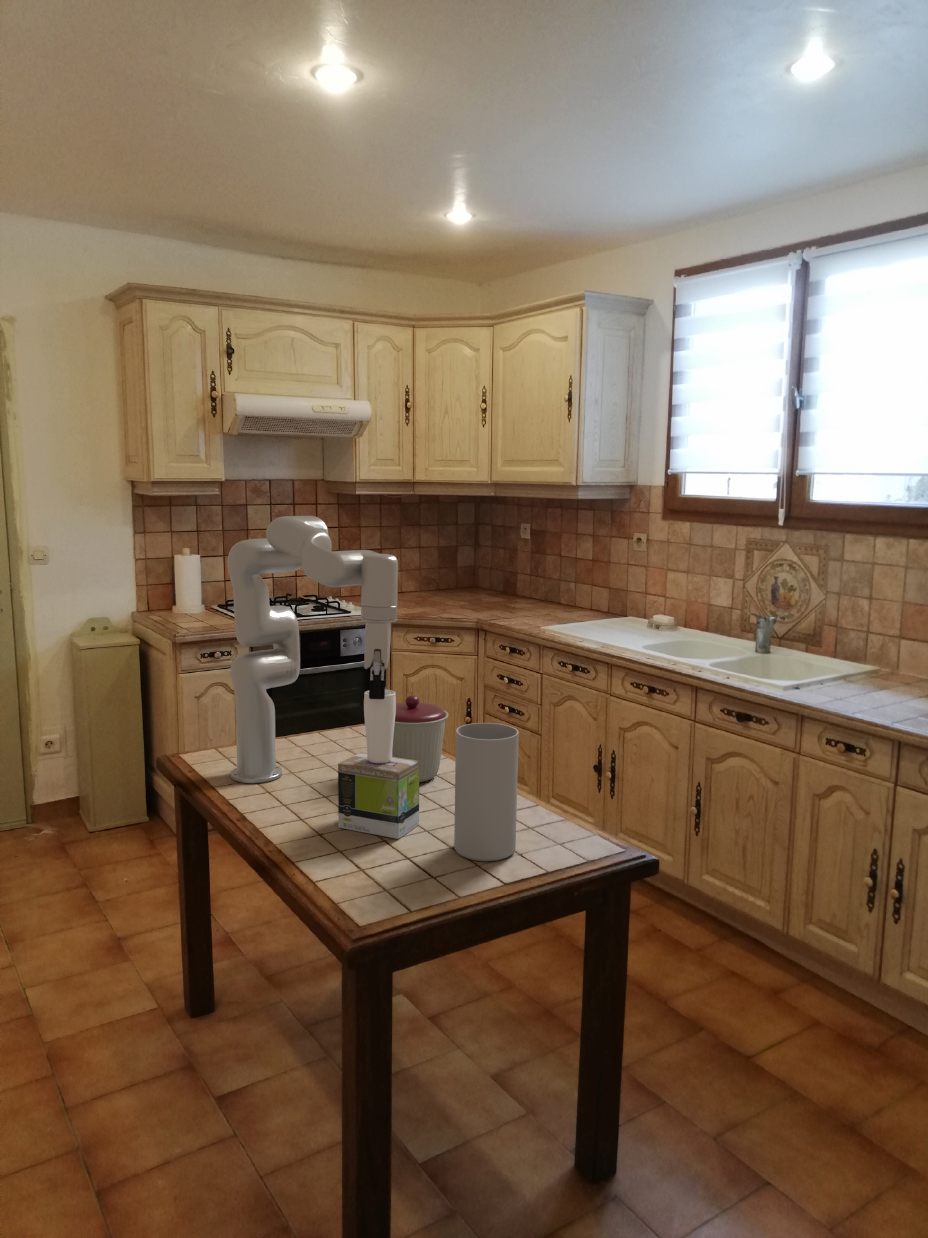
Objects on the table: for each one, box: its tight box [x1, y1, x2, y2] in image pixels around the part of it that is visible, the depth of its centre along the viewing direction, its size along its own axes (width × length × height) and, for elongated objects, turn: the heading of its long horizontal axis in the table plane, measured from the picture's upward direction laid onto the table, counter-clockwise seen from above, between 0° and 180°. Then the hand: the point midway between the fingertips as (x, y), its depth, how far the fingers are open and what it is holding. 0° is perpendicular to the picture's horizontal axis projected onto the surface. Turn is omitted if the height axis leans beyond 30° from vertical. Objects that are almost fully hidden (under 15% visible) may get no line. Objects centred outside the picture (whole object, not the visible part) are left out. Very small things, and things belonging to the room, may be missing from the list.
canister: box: [392, 695, 449, 783], centre depth 226 cm, size 18×18×21 cm
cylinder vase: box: [453, 722, 520, 862], centre depth 182 cm, size 12×12×25 cm
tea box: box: [337, 752, 420, 840], centre depth 194 cm, size 15×10×15 cm, turn 65°
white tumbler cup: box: [363, 688, 397, 764], centre depth 192 cm, size 7×7×15 cm
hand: (377, 693), depth 191 cm, fingers open, 9 cm apart
